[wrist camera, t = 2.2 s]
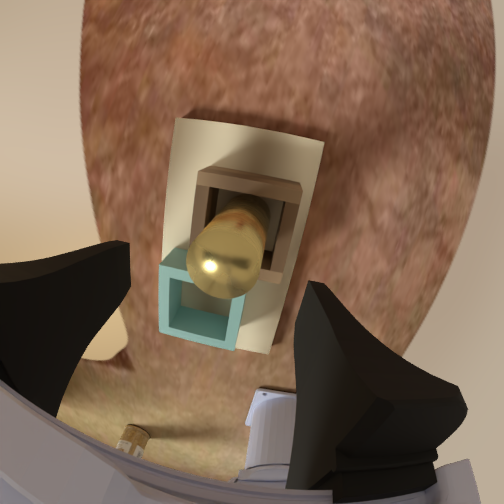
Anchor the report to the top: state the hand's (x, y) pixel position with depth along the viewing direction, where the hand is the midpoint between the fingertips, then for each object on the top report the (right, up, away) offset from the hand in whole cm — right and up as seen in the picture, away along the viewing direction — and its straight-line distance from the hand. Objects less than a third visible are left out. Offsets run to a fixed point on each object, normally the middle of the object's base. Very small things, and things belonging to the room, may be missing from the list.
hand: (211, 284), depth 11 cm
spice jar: (-17, -28, +26) cm, 42 cm away
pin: (+1, +4, +9) cm, 9 cm away
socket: (-2, -1, +12) cm, 12 cm away
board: (0, +2, +11) cm, 11 cm away
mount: (+1, +4, +9) cm, 10 cm away
